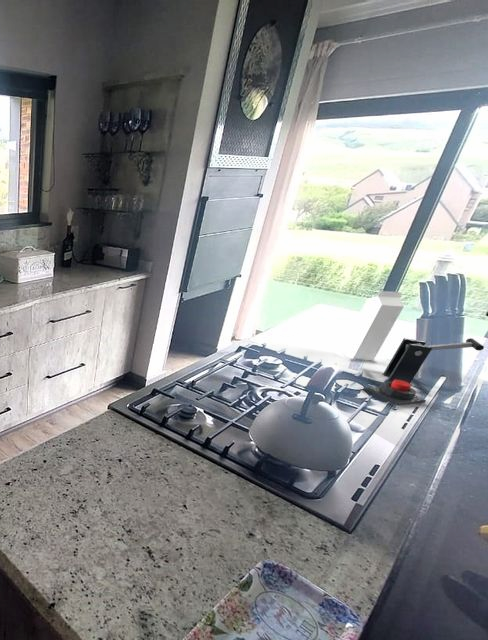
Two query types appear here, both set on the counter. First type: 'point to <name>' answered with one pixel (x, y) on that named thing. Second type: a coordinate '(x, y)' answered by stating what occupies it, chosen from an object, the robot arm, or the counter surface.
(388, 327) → the milk
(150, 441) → the counter surface
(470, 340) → the lever
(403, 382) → the button
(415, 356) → the bracket
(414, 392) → the button box
